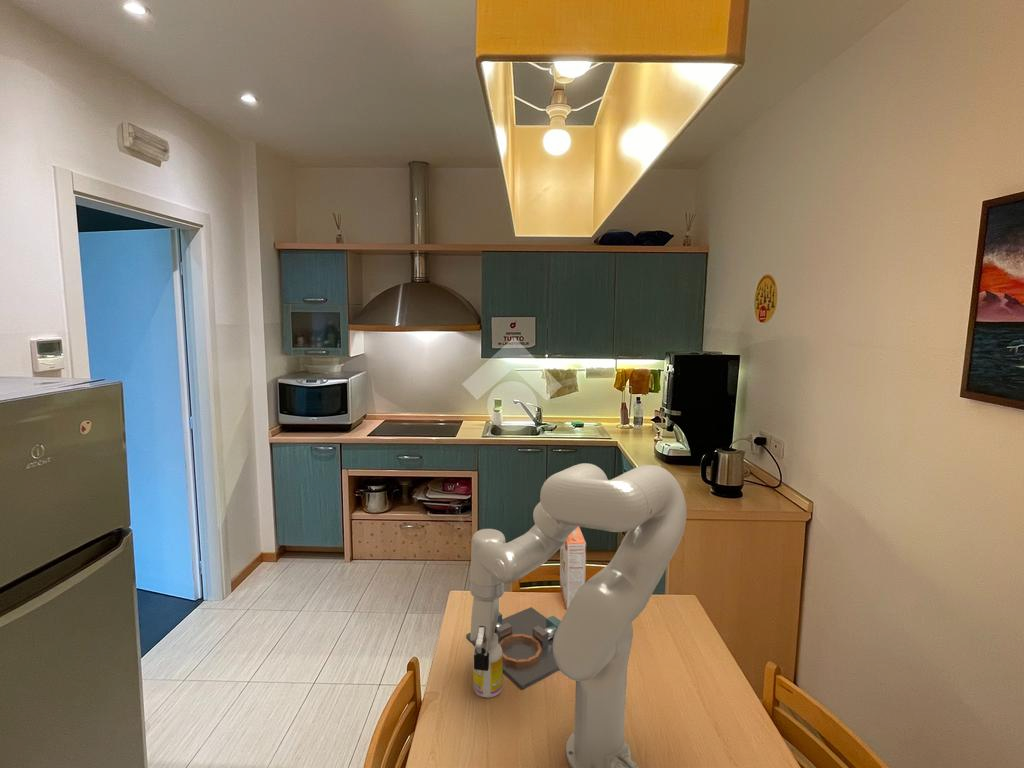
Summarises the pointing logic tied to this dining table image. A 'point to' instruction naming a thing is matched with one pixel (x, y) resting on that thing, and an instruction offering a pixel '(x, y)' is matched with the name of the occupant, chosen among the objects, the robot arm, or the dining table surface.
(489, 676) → the supplement bottle
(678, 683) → the dining table surface
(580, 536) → the cracker box
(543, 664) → the base
